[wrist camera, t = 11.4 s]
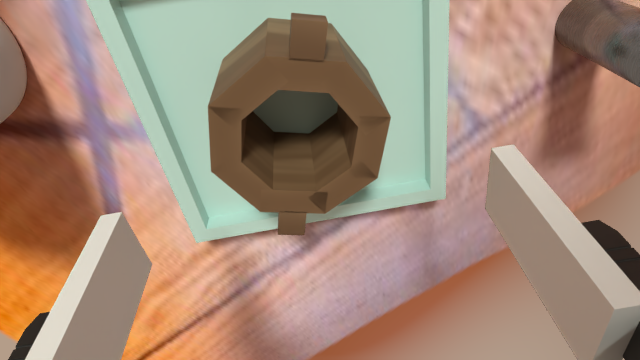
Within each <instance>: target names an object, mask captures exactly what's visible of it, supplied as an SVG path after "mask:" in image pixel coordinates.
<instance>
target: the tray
mask: <svg viewBox="0 0 640 360" xmlns="http://www.w3.org/2000/svg"><path fill="white" fill-rule="evenodd" d="M86 1H87V4H88V6H89V8H90V10H91V12H92V15H93V17H94V19H95V21H96V23H97V25H98V28H99V30H100V32H101V34H102V36H103V39H104V41H105V43H106V45H107V47H108V50H109V52H110V54H111V56H112V58H113V61H114V63H115V65H116V67H117V69H118V72H119V74H120V76H121V78H122V80H123V83H124V85H125V87H126V89H127V91H128V94H129V96H130V98H131V100H132V102H133V104H134V107H135V109H136V111H137V113H138V115H139V118H140V120H141V122H142V124H143V126H144V129H145V131H146V133H147V135H148V137H149V140H150V142H151V144H152V146H153V148H154V151H155V153H156V155H157V157H158V159H159V162H160V164H161V166H162V168H163V170H164V173H165V175H166V177H167V179H168V181H169V183H170V186H171V188H172V190H173V192H174V194H175V197H176V199H177V201H178V203H179V205H180V208H181V210H182V212H183V214H184V216H185V219H186V221H187V223H188V225H189V227H190V230H191V232H192V234H193V236H194V238H195V241H196V243H198V242H204V241H210V240H215V239H221V238H227V237H232V236H238V235H244V234H249V233H255V232H260V231H266V230H272V229H277V228H278V212H260V211H259V210H257V209H256V208H255V207H254V206H252V205H251V204H250V203H249V202H248V201H246V200H245V199H244V198H243V197H241V196H240V195H239V194H238V193H237V192H235V191H234V190H233V189H232V188H230V187H229V186H228V185H227V184H226V183H224V182H223V181H222V180H221V179H219V178H218V177H217V176H216V175H215V174H213V173H212V172H211V162H210V142H209V122H208V104H209V101H210V98H211V95H212V91H213V88H214V85H215V82H216V79H217V76H218V72H219V69H220V66H221V63H222V60H223V58H224V57H225V56H227V55H228V54H229V53H230V52H231V51H232V50H233V49H234V48H235V47H236V46H237V45H239V44H240V43H241V42H242V41H243V40H244V39H245V38H246V37H247V36H248V35H250V34H251V33H252V32H253V31H254V30H255V29H256V28H257V27H258V26H259V25H261V24H262V23H263V22H264V21H265V20H266V19H267V18H277V19H289V20H291V13H301V14H312V15H323V16H326V18H327V21H328V23H332V25H333V26H334V27H335V29H336V30H337V31H338V32H339V34H340V35H341V36H342V38H343V39H344V40H345V41H346V43H347V44H348V45H349V47H350V48H351V49H352V50H353V52H354V53H355V54H356V56H357V57H358V58H359V59H360V61H361V62H362V63H363V65H364V66H365V67H366V68H367V70H368V72H369V74H370V76H371V78H372V80H373V82H374V84H375V86H376V88H377V90H378V92H379V94H380V96H381V98H382V100H383V102H384V104H385V106H386V108H387V110H388V112H389V114H390V116H391V120H390V124H389V129H388V133H387V138H386V142H385V147H384V151H383V156H382V161H381V165H380V170H379V174H378V178H377V179H376V180H374V181H373V182H371V183H370V184H368V185H367V186H365V187H364V188H362V189H361V190H359V191H358V192H357V193H355V194H354V195H352V196H351V197H349V198H348V199H346V200H345V201H343V202H342V203H340V204H339V205H337V206H336V207H334V208H333V209H331V210H330V211H329V212H327V213H326V214H314V213H307V215H306V223H311V222H317V221H323V220H328V219H334V218H339V217H345V216H351V215H356V214H362V213H368V212H373V211H379V210H385V209H390V208H396V207H401V206H407V205H413V204H418V203H424V202H430V201H435V200H441V199H446V150H447V98H448V46H449V0H86ZM337 108H338V103H337V102H336V101H335V100H334V98H333V97H332V96H331V95H330V94H329V93H318V92H303V91H288V90H277V91H276V92H275V93H274V94H273V95H271V96H270V97H269V98H268V99H267V100H265V101H264V102H263V103H262V104H261V105H259V106H258V107H257V108H256V109H255V110H253V112H254V113H255V114H256V115H257V116H258V117H259V118H260V119H261V120H262V121H263V122H264V123H265V124H266V125H267V126H269V127H270V128H271V129H272V130H273V131H274V132H290V133H310V132H312V131H313V130H314V129H316V128H317V127H318V126H320V125H321V124H322V123H324V122H325V121H326V120H327V119H329V118H330V117H331V116H333V115H334V114H335V113H337Z"/></svg>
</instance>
